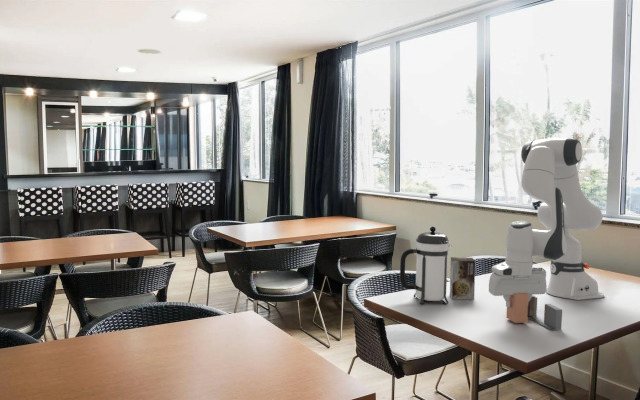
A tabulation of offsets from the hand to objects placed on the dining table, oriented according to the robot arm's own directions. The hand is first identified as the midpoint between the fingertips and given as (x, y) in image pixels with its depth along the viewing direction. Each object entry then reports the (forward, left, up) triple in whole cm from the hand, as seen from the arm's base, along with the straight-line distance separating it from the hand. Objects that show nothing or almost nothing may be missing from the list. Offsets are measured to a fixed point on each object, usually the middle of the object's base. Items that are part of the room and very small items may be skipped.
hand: (516, 306), depth 184 cm
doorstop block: (0, 0, -5) cm, 5 cm away
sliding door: (-4, -7, -5) cm, 10 cm away
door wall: (-9, -1, -5) cm, 10 cm away
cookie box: (+6, -32, -6) cm, 33 cm away
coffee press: (+22, -28, -6) cm, 36 cm away
